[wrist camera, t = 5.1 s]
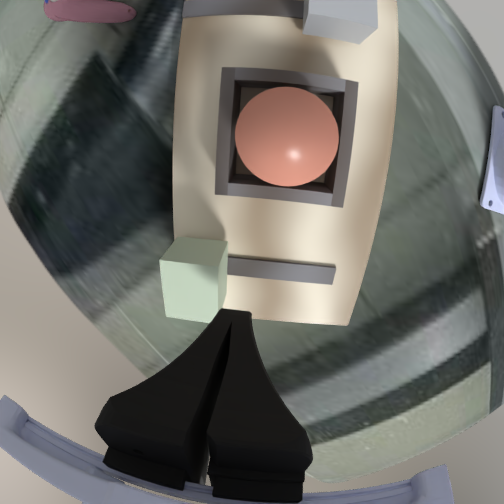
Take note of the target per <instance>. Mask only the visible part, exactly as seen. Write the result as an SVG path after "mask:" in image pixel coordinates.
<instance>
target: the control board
mask: <svg viewBox="0 0 504 504" xmlns="http://www.w3.org/2000/svg"><path fill="white" fill-rule="evenodd" d="M377 10H378V29H376V30H375V31H374V32H373V33H372V34H371V35H370V36H368V37H367V38H366V39H365V40H364V41H363V42H362V43H360V44H355V43H351V42H346V41H341V40H336V39H331V38H325V37H319V36H313V35H306V34H302V31H303V12H304V0H186V1H184V6H183V13H182V18H183V21H182V29H181V37H180V45H179V55H178V65H177V76H176V89H175V105H174V127H173V222H174V241H175V240H176V239H177V237H189V238H200V239H210V240H221V241H228V263H227V294H226V297H225V301H224V304H223V308H226V309H234V310H242V311H250V312H251V313H252V318H255V319H265V320H275V321H287V322H299V323H313V324H330V325H348V323H349V320H350V317H351V314H352V311H353V308H354V305H355V302H356V299H357V296H358V293H359V290H360V286H361V283H362V280H363V276H364V273H365V269H366V266H367V262H368V258H369V255H370V251H371V247H372V243H373V239H374V235H375V231H376V227H377V222H378V218H379V213H380V209H381V204H382V199H383V194H384V189H385V183H386V178H387V172H388V166H389V159H390V152H391V145H392V138H393V129H394V120H395V110H396V98H397V82H398V13H397V1H395V0H377ZM276 87H295V88H299V89H303V90H306V91H308V92H310V93H312V94H314V95H315V96H317V97H318V98H319V99H321V100H322V101H323V102H324V103H325V104H326V105H327V106H328V108H329V109H330V111H331V112H332V114H333V116H334V118H335V121H336V123H337V127H338V134H339V143H338V149H337V152H336V155H335V157H334V159H333V161H332V163H331V164H330V166H329V167H328V168H327V170H326V171H325V172H324V173H323V174H321V175H320V176H319V177H317V178H316V179H314V180H312V181H310V182H308V183H305V184H302V185H298V186H279V185H274V184H271V183H268V182H266V181H264V180H262V179H260V178H258V177H257V176H256V175H254V174H253V173H252V172H251V171H250V170H249V169H248V168H247V167H246V165H245V164H244V163H243V161H242V159H241V158H240V155H239V153H238V150H237V147H236V141H235V129H236V124H237V120H238V118H239V115H240V113H241V111H242V110H243V108H244V107H245V106H246V104H247V103H248V102H249V101H250V100H251V99H252V98H254V97H255V96H257V95H258V94H260V93H262V92H264V91H266V90H269V89H272V88H276Z"/></svg>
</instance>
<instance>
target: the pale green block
mask: <svg viewBox="0 0 504 504" xmlns="http://www.w3.org/2000/svg"><path fill="white" fill-rule="evenodd" d="M227 263H228V241H221V240H210V239H200V238H189V237H177V239H176V240H175V241H174V242H173V244H172V245H171V246H170V247H169V249H168V250H167V251H166V252H165V254H164V255H163V256H162V257H161V259H160V270H161V280H162V289H163V297H164V305H165V312H166V316H167V317H173V318H179V319H185V320H192V321H199V322H206V323H210V322H211V321H212V320H213V318H214V317H215V315H216V314H217V312H218V311H219V310H220V309H221V308H223V304H224V301H225V297H226V294H227Z"/></svg>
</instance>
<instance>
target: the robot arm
mask: <svg viewBox="0 0 504 504" xmlns="http://www.w3.org/2000/svg"><path fill="white" fill-rule="evenodd" d="M489 201H490V203H489ZM480 205H481V206H482V207H484V208H486V209H489V210H492V211H496V212H499V213H502V214H504V109H503V108H502V107H500V106H497V105H495V106H494V107H493V116H492V129H491V139H490V148H489V155H488V162H487V168H486V174H485V179H484V184H483V189H482V193H481V198H480ZM95 429H96V431H97V433H98V434H99V435H100V436H101V438H102V439H103V440H104V441H105V443H106V444H107V445H108V446H109V447H108V449H107V452H106V454H105V456H104V455H102V454H99V453H97V452H95V451H92V450H90V449H88V448H86V447H83V446H82V445H79V444H77V443H75V442H73V441H71V440H69V439H67V438H66V437H63V436H62V435H59V434H58V433H56V432H54V431H53V430H51V429H49V428H47V427H46V426H44V425H42V424H41V423H39V422H37V421H36V420H34V419H33V418H31V417H29V416H28V414H27V412H26V411H25V410H24V409H23V408H22V407H21V406H20V405H18V404H17V403H16V402H14V401H13V400H11V399H10V398H8V397H7V396H6V395H4V396H3V397H2V399H1V400H0V447H1V448H2V449H4V450H5V451H6V452H7V453H8V454H10V455H11V456H12V457H13V458H15V459H16V460H17V461H19V462H20V463H21V464H22V465H24V466H25V467H27V468H28V469H29V470H31V471H32V472H34V473H35V474H37V475H38V476H39V477H41V478H43V479H44V480H46V481H47V482H49V483H50V484H52V485H53V486H55V487H57V488H58V489H60V490H62V491H64V492H65V493H67V494H69V495H71V496H72V497H74V498H76V499H78V500H80V501H82V504H192V503H187V502H183V501H178V500H174V499H170V498H167V497H163V496H159V495H156V494H152V493H149V492H146V491H143V490H140V489H137V488H134V487H131V486H128V485H125V484H124V482H123V481H126V482H128V483H131V484H134V485H137V486H140V487H143V488H146V489H149V490H152V491H156V492H159V493H163V494H167V495H170V496H174V497H179V498H182V499H187V500H192V501H197V502H202V503H207V504H455V503H454V498H453V493H452V488H451V483H450V479H449V475H448V470H447V466H446V465H445V464H444V465H440V466H437V467H434V468H431V469H427V470H425V471H422V472H420V473H418V474H416V475H414V476H413V477H412V478H411V479H408V480H403V481H399V482H395V483H390V484H385V485H379V486H374V487H368V488H361V489H353V490H345V491H334V492H319V493H303V482H304V480H305V470H306V469H307V468H308V467H309V466H310V464H311V463H312V460H313V454H312V449H311V445H310V441H309V438H308V436H307V433H306V431H305V429H304V428H303V427H302V426H301V425H300V424H299V422H298V421H297V420H296V419H295V417H294V416H293V415H292V414H291V412H290V411H289V409H288V408H287V407H286V405H285V404H284V402H283V401H282V399H281V397H280V396H279V394H278V393H277V391H276V389H275V388H274V386H273V384H272V382H271V380H270V378H269V376H268V374H267V372H266V370H265V367H264V365H263V362H262V360H261V357H260V354H259V351H258V348H257V345H256V341H255V337H254V333H253V327H252V313H251V312H250V311H242V310H234V309H226V308H221V309H220V310H219V311H218V312H217V314H216V315H215V317H214V318H213V320H212V321H211V322H210V324H209V325H208V326H207V327H206V329H205V330H204V331H203V332H202V333H201V334H200V336H199V337H198V338H197V339H196V340H195V341H194V342H193V343H192V344H191V345H190V346H189V347H188V348H187V349H186V350H185V351H184V352H183V353H182V354H181V355H180V356H179V357H177V358H176V359H175V360H174V361H173V362H171V363H170V364H169V365H167V366H166V367H165V368H163V369H162V370H161V371H159V372H158V373H156V374H155V375H153V376H152V377H150V378H148V379H147V380H145V381H143V382H141V383H140V384H138V385H136V386H134V387H132V388H130V389H128V390H126V391H124V392H121V393H119V394H117V395H115V396H112V397H110V398H109V400H108V401H107V403H106V404H105V406H104V407H103V409H102V411H101V413H100V415H99V417H98V419H97V421H96V423H95ZM209 455H210V461H209ZM208 461H209V466H208ZM207 468H208V471H207ZM207 474H208V475H209V478H210V481H211V486H206V485H205V482H206V475H207ZM114 477H115V478H114ZM116 478H118V479H116ZM119 479H120V480H123V481H120V480H119Z"/></svg>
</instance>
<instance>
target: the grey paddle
mask: <svg viewBox="0 0 504 504" xmlns="http://www.w3.org/2000/svg"><path fill="white" fill-rule="evenodd" d="M376 29H378V10H377V0H304V12H303V31H302V34H306V35H313V36H319V37H325V38H331V39H336V40H341V41H346V42H351V43H355V44H360V43H362V42H363V41H364V40H365V39H366V38H367V37H368V36H370V35H371V34H372V33H373V32H374V31H375V30H376Z"/></svg>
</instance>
